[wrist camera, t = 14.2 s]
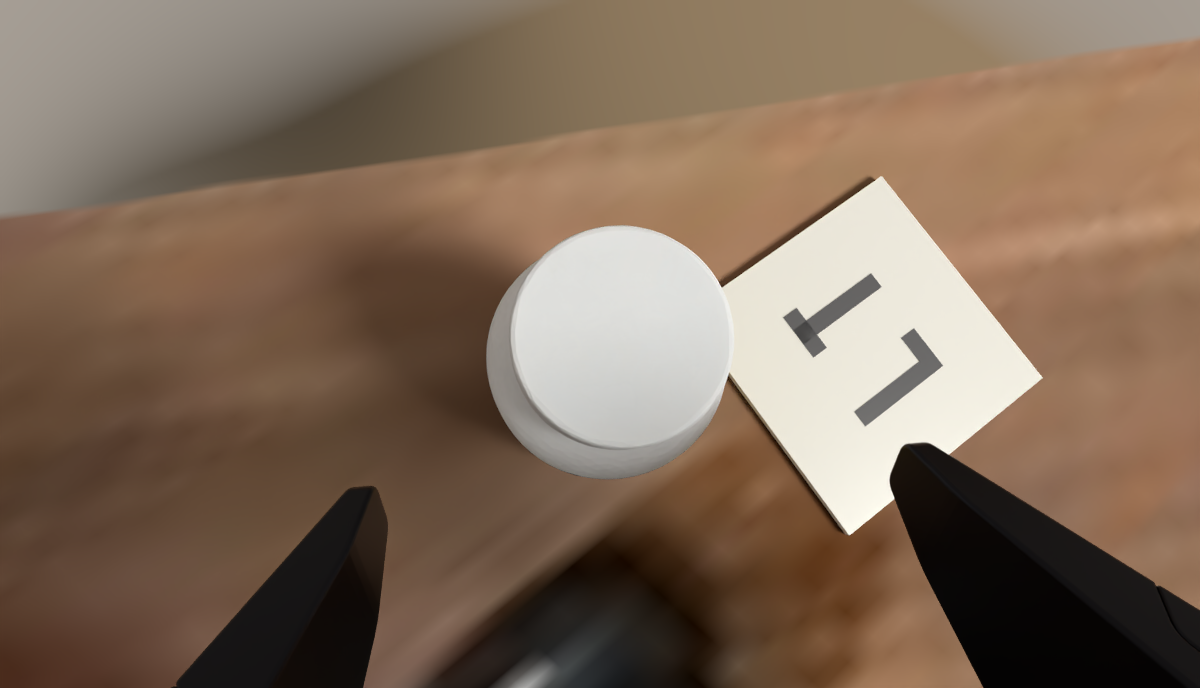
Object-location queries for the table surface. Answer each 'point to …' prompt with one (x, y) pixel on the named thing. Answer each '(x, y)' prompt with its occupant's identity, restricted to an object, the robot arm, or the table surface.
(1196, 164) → the table surface
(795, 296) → the tile
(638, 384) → the supplement bottle
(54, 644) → the table surface
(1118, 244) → the table surface
